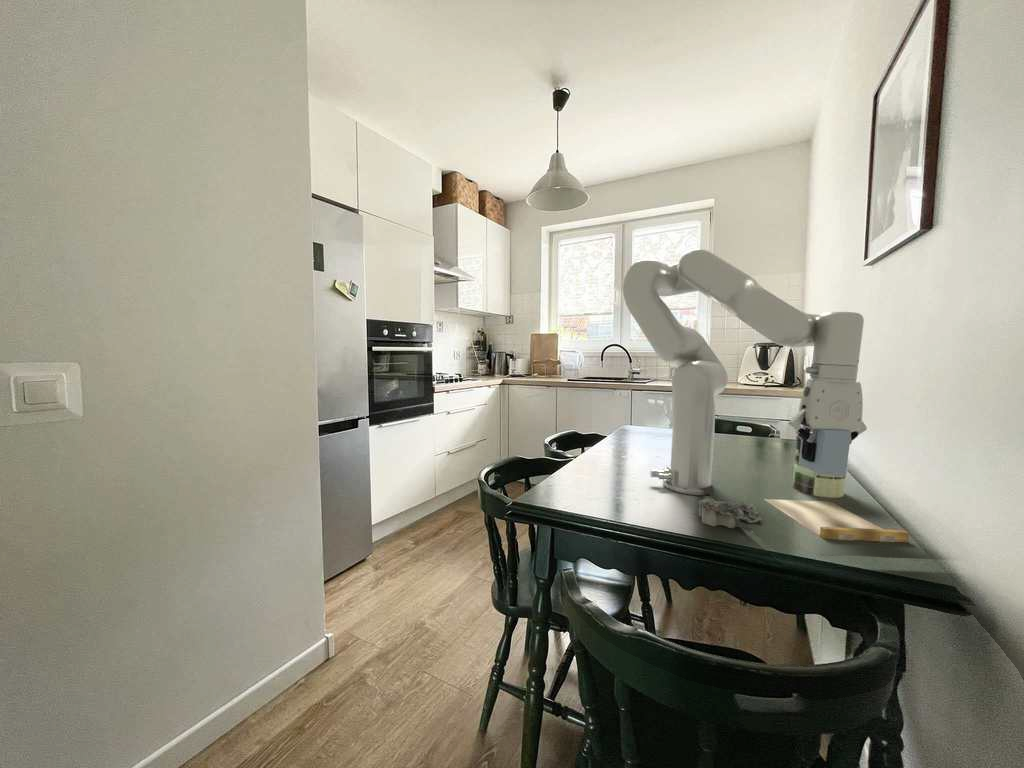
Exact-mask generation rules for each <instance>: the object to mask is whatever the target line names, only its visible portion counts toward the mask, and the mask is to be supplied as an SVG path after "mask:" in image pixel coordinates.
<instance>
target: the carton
mask: <svg viewBox="0 0 1024 768" xmlns="http://www.w3.org/2000/svg"><path fill="white" fill-rule="evenodd" d="M804 427H805V426H804V425H802V428H803V429H804ZM810 431H811V430H810ZM850 438H851V431H848V430H829V429H822V430H818V432H817V436H816V438H815V440H814V443H816V452H815V461H814V462H809V461H807V460H805V459H803V458H802V454H801V452H802V443H803V440H802V439H801V446H800V454H799V463H798V464H799V465H801V466H803V467H805V468H807V469H810V470H812V471H814V472H816V473H818V474H823V475H841V476H846V475H847V467H848V461H849V454H850V447H851V444H850Z"/></svg>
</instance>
